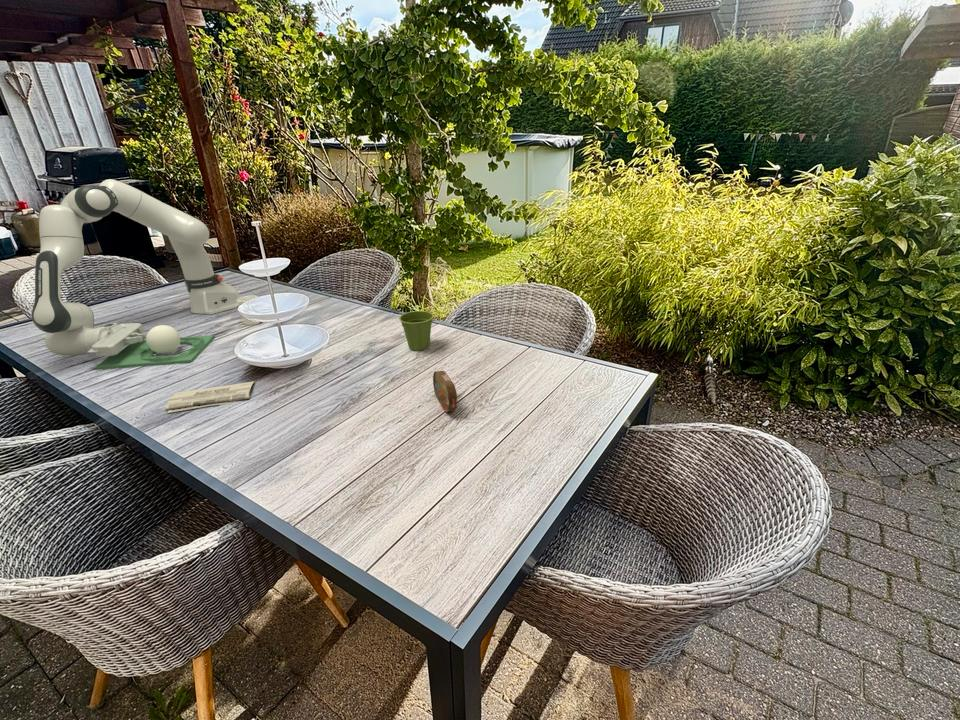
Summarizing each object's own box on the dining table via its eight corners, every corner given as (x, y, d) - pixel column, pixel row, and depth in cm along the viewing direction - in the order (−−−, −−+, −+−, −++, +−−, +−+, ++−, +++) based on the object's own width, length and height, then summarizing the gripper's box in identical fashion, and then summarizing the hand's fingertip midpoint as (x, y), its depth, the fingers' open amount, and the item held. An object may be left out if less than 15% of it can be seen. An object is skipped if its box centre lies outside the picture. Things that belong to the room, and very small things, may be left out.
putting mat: (96, 369, 159) (95, 366, 159) (130, 343, 178) (129, 340, 177) (191, 362, 162) (190, 360, 161) (214, 337, 181) (214, 335, 180)
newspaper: (164, 416, 133) (162, 408, 132) (179, 398, 144) (176, 391, 144) (252, 403, 138) (250, 395, 137) (259, 387, 149) (257, 379, 148)
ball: (157, 328, 173) (184, 343, 176) (138, 348, 166) (167, 363, 170) (159, 314, 166) (188, 330, 169) (140, 335, 159) (170, 351, 162)
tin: (433, 392, 140) (430, 366, 137) (443, 389, 141) (441, 364, 138) (448, 418, 128) (446, 391, 124) (459, 416, 129) (458, 388, 125)
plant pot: (438, 339, 173) (436, 310, 168) (432, 354, 163) (430, 323, 158) (406, 339, 175) (403, 310, 170) (398, 353, 164) (394, 322, 159)
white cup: (267, 318, 197) (261, 295, 192) (257, 326, 190) (251, 302, 185) (249, 318, 198) (243, 295, 193) (238, 325, 191) (232, 301, 186)
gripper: (79, 344, 155) (124, 341, 156) (114, 321, 173) (155, 318, 174) (86, 362, 158) (131, 359, 159) (120, 337, 176) (160, 334, 177)
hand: (144, 337), depth 167 cm, fingers closed
